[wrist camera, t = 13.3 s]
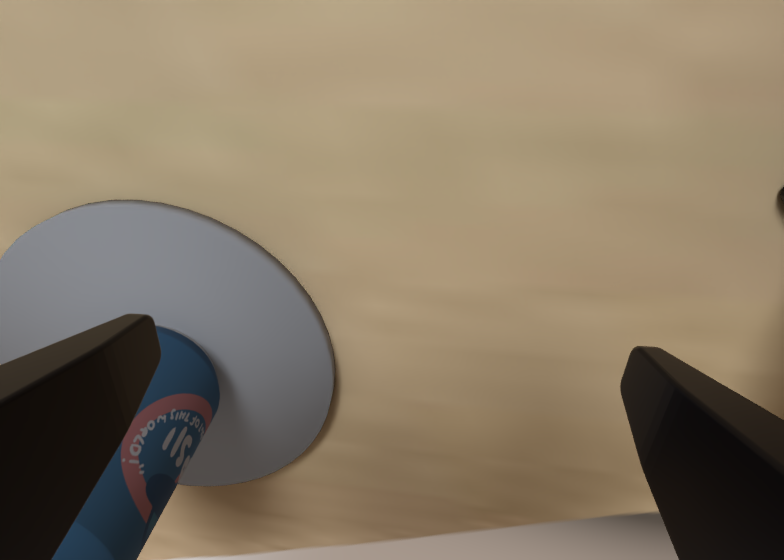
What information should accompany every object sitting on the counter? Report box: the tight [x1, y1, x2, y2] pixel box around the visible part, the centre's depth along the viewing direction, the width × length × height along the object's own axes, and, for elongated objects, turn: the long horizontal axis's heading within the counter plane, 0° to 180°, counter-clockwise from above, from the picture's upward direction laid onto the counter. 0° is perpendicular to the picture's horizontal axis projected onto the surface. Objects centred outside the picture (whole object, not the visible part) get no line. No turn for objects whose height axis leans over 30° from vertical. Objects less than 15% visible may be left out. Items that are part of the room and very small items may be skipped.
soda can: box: [52, 325, 220, 560], centre depth 20 cm, size 7×7×12 cm
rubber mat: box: [0, 200, 335, 486], centre depth 26 cm, size 18×18×1 cm
